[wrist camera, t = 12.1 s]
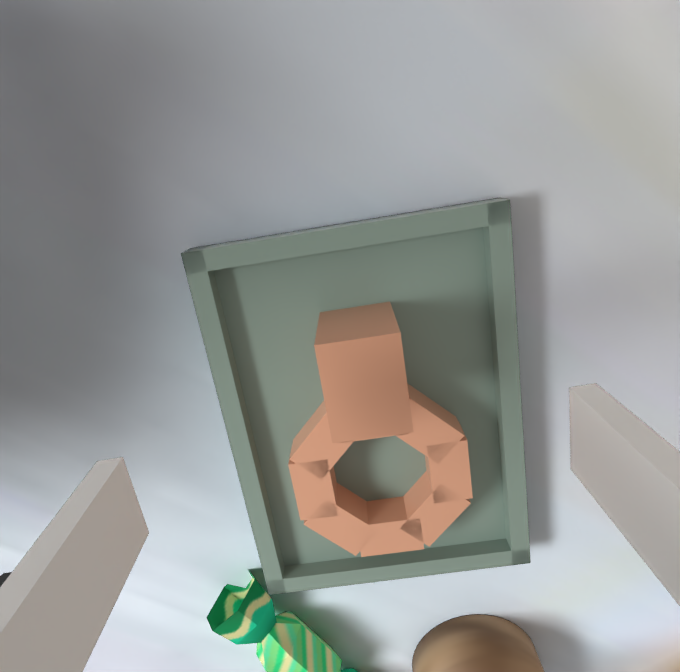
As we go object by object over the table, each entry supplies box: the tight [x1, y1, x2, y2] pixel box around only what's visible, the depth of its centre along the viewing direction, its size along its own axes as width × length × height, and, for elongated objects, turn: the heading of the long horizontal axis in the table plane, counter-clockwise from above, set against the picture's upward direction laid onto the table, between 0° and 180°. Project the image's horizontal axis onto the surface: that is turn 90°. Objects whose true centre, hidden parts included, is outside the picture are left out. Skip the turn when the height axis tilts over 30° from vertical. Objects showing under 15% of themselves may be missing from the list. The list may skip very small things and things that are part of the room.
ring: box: [288, 302, 473, 557], centre depth 25 cm, size 9×13×5 cm
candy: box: [207, 571, 358, 672], centre depth 31 cm, size 12×3×4 cm
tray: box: [181, 198, 530, 595], centre depth 27 cm, size 20×15×2 cm
